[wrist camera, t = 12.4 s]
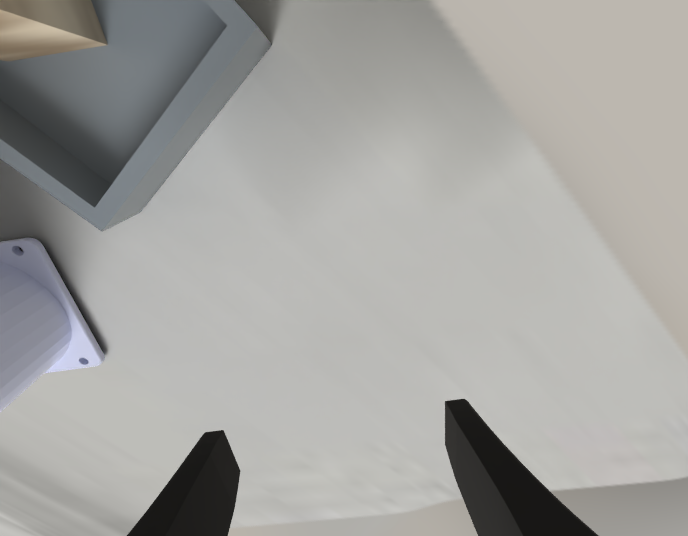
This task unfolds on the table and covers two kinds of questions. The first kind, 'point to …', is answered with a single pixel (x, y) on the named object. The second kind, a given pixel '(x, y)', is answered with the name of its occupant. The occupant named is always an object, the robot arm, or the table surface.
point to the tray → (124, 101)
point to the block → (47, 28)
